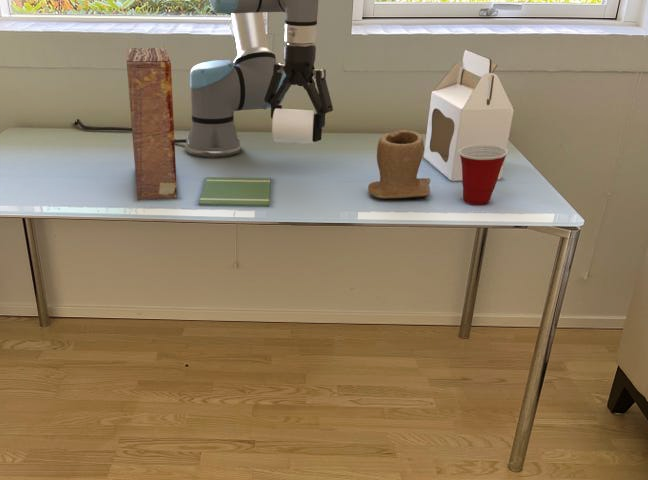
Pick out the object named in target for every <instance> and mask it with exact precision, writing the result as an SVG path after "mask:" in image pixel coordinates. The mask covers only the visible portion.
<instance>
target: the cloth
mask: <svg viewBox="0 0 648 480" xmlns="http://www.w3.org/2000/svg"><path fill="white" fill-rule="evenodd" d="M271 179H272V178H271V177H235V176H234V177H232V176H231V177H229V176H227V177H225V176H224V177H223V176H206V179H205V182H204V185H203V188H202V192H201V195H200V198H199V201H198V206H225V207H226V206H231V207H234V206H235V207H237V206H238V207H269V206H270V198H271V197H270V196H271V182H272V181H271Z"/></svg>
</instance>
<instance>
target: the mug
mask: <svg viewBox="0 0 648 480" xmlns="http://www.w3.org/2000/svg"><path fill="white" fill-rule="evenodd" d="M316 113H317V112H316V110H312V109H311V110H310V109H309V110H308V109H293V108H282V109H278V108H276V109H275V110H274V114H273V119H272V121H271V122H272V123H271V140H272V142H273V143H284V144H285V143H286V144H302V145H313V144H314V142H313V126H314V114H316Z"/></svg>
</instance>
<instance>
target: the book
mask: <svg viewBox="0 0 648 480" xmlns="http://www.w3.org/2000/svg"><path fill="white" fill-rule="evenodd" d="M168 52H169V51H168V49H167V45H165V44H164V45H163V47H130V46H129V45H126V71H127V83H128V85H127V86H128V96H129V97H128V98H129V109H130V122H131V128H132V131H131V133H132V134H131V136H132V146H133V147H132V148H133V159H134V160H133V161H134V172H135V173H134V174H135V185H136V186H135V187H136V197H137V198H136V199H137V201H150V200H151V201H152V200H177V199H178V187H177V186H178V183H177V166H176V165H177V163H176V162H177V161H176V145H175V144H176V143H175V141H174V139H175V124H174V122H175V121H174V102H173V78H172V63H171V60H170V55H169V53H168Z"/></svg>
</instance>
